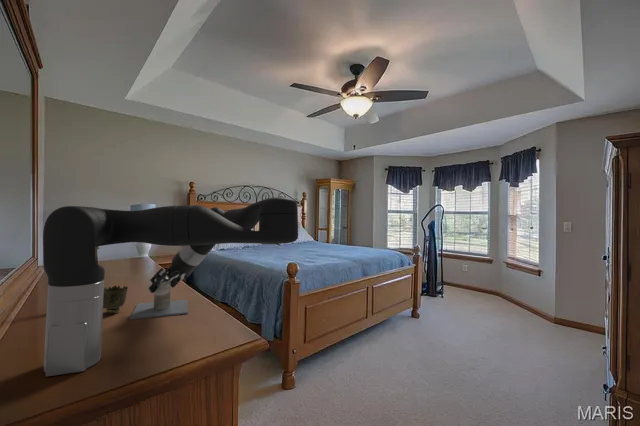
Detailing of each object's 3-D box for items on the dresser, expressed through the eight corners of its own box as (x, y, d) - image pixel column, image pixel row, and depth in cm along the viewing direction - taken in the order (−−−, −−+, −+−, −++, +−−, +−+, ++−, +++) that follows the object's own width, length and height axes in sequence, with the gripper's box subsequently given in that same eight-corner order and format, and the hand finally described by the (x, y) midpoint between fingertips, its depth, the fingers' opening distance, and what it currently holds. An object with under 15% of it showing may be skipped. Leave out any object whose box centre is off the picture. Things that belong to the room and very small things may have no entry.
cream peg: (169, 309, 98) (170, 279, 98) (152, 310, 96) (154, 279, 96) (170, 305, 102) (171, 276, 103) (154, 306, 101) (155, 277, 101)
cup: (132, 310, 98) (133, 286, 98) (114, 317, 91) (115, 291, 91) (111, 308, 99) (112, 284, 99) (92, 315, 91) (93, 290, 92)
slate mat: (187, 314, 96) (187, 312, 96) (129, 319, 89) (129, 317, 89) (187, 301, 110) (187, 299, 110) (138, 305, 104) (138, 303, 104)
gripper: (180, 268, 89) (149, 302, 92) (210, 262, 103) (183, 291, 106) (166, 249, 91) (137, 283, 94) (198, 246, 105) (172, 275, 108)
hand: (161, 287), depth 100 cm, fingers open, 8 cm apart
